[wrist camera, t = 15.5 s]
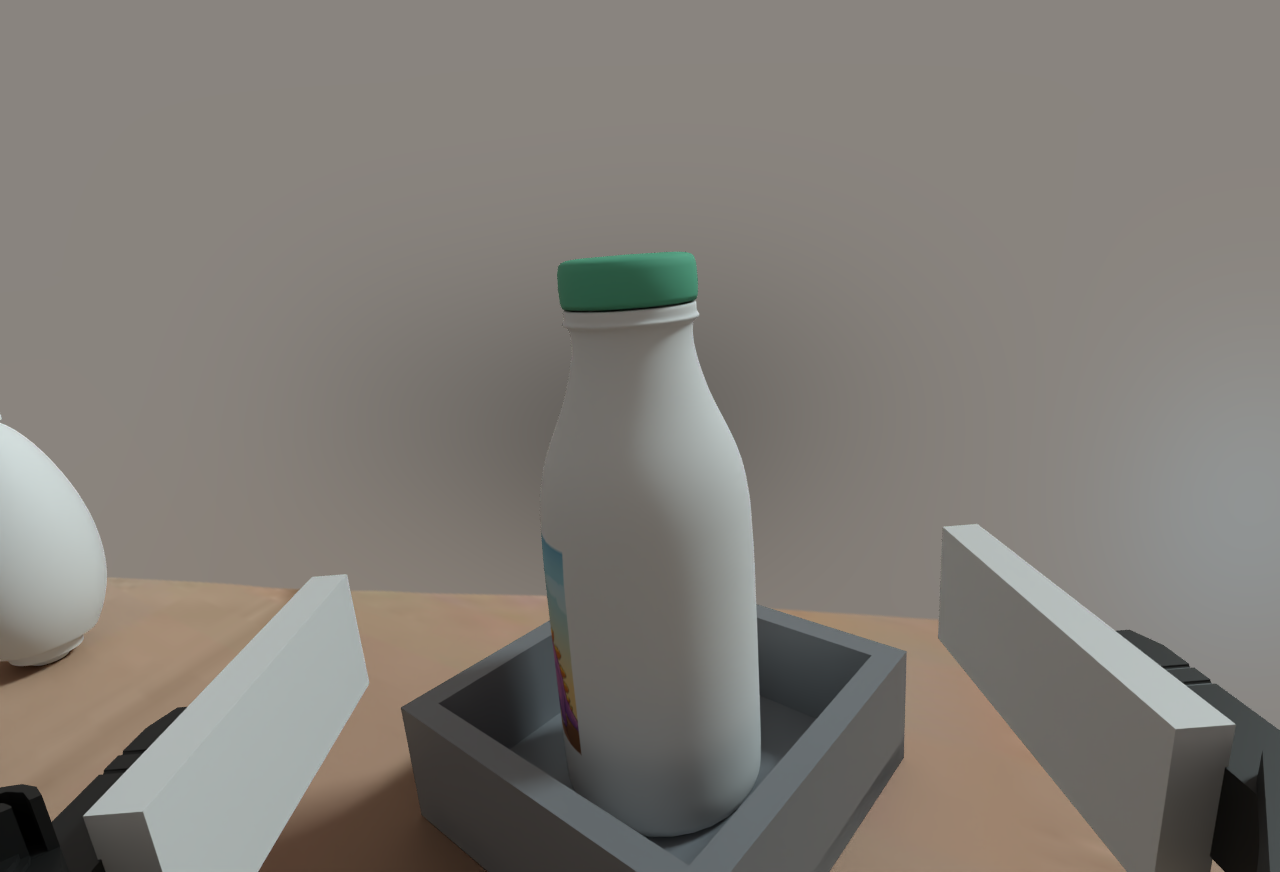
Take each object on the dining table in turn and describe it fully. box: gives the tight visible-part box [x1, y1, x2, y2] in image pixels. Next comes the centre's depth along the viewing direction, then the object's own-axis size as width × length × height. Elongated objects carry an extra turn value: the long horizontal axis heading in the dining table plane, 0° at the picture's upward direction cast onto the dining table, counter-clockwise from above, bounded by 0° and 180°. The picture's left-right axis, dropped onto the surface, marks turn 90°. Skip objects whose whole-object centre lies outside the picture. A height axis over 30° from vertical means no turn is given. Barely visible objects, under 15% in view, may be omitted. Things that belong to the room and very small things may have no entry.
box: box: [401, 604, 907, 872], centre depth 27 cm, size 14×14×5 cm
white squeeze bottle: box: [0, 414, 107, 666], centre depth 40 cm, size 8×8×18 cm
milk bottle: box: [540, 252, 761, 837], centre depth 25 cm, size 8×8×20 cm
